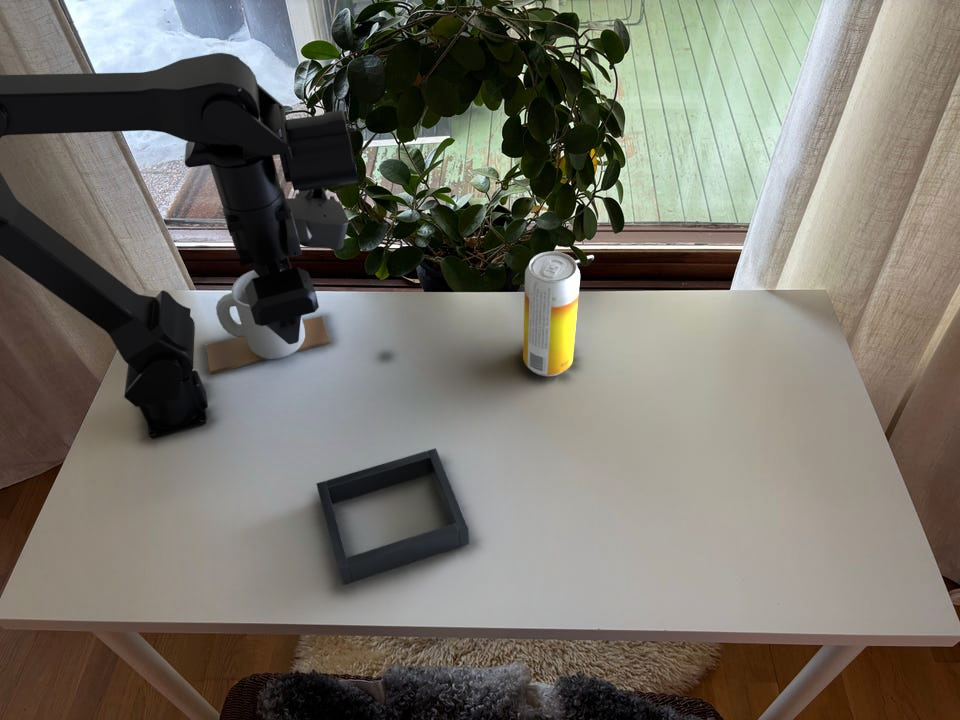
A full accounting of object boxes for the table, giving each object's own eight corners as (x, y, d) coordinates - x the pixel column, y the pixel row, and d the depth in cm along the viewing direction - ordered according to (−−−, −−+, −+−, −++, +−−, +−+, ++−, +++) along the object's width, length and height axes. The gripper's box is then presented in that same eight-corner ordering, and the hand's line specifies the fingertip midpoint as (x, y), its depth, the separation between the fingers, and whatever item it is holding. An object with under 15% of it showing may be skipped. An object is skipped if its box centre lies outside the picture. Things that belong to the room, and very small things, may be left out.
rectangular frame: (343, 585, 76) (338, 569, 74) (321, 499, 83) (316, 483, 81) (469, 543, 79) (468, 527, 77) (437, 464, 86) (435, 447, 84)
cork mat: (210, 374, 97) (209, 371, 96) (206, 347, 100) (205, 344, 100) (330, 343, 100) (329, 340, 100) (322, 318, 103) (321, 315, 103)
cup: (303, 358, 98) (289, 304, 91) (222, 363, 97) (202, 310, 91) (308, 319, 103) (295, 265, 96) (231, 324, 102) (213, 270, 96)
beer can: (579, 352, 98) (588, 257, 87) (562, 385, 94) (569, 289, 83) (534, 339, 100) (537, 244, 89) (515, 370, 96) (516, 275, 85)
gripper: (358, 227, 71) (379, 350, 82) (312, 131, 83) (335, 249, 94) (234, 258, 68) (273, 381, 79) (205, 153, 80) (242, 272, 91)
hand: (284, 315), depth 86 cm, fingers open, 9 cm apart
